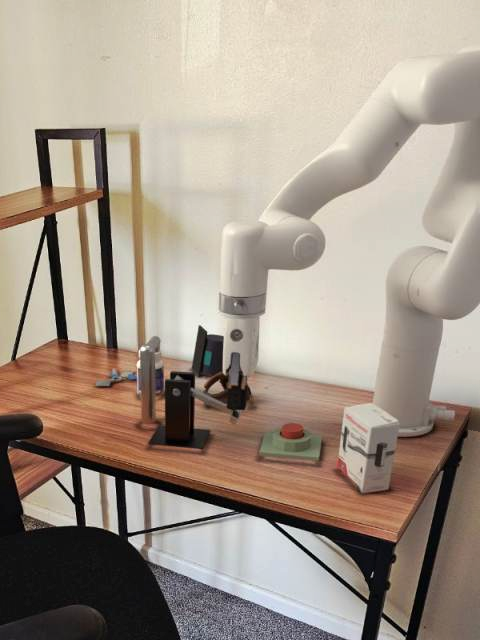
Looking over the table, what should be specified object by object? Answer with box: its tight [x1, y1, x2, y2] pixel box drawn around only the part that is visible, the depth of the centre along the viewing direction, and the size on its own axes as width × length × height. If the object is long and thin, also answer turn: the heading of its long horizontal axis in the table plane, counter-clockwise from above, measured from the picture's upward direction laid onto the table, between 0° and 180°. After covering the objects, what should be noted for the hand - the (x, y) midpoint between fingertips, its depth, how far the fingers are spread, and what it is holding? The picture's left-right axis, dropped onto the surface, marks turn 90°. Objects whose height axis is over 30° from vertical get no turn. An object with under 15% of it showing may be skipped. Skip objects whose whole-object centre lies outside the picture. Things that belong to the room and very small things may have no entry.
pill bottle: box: [136, 349, 165, 397], centre depth 149 cm, size 6×6×10 cm
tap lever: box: [174, 375, 243, 426], centre depth 126 cm, size 13×6×2 cm, turn 71°
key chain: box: [94, 368, 137, 387], centre depth 162 cm, size 14×8×1 cm, turn 118°
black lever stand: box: [148, 370, 212, 450], centre depth 128 cm, size 10×8×13 cm
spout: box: [139, 335, 162, 425], centre depth 136 cm, size 4×9×16 cm, turn 162°
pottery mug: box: [202, 372, 254, 407], centre depth 144 cm, size 12×10×8 cm
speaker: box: [191, 324, 224, 378], centre depth 159 cm, size 8×6×10 cm
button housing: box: [258, 426, 323, 462], centre depth 125 cm, size 10×9×4 cm
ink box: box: [337, 402, 399, 494], centre depth 113 cm, size 8×5×12 cm, turn 11°
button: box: [281, 422, 304, 440], centre depth 124 cm, size 4×4×2 cm
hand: (236, 407), depth 125 cm, fingers closed
